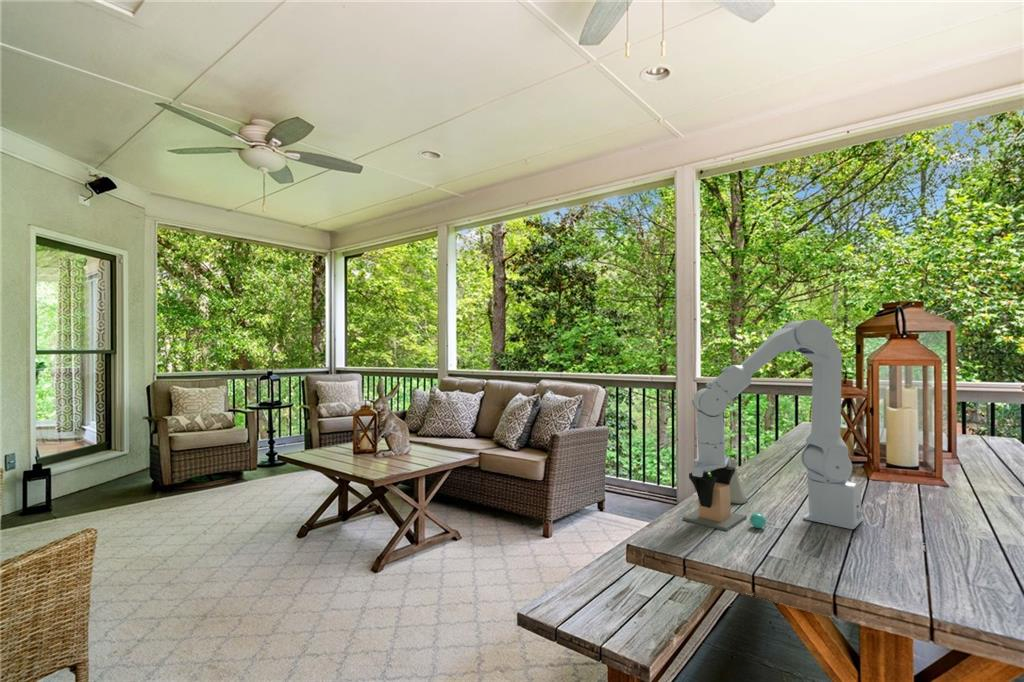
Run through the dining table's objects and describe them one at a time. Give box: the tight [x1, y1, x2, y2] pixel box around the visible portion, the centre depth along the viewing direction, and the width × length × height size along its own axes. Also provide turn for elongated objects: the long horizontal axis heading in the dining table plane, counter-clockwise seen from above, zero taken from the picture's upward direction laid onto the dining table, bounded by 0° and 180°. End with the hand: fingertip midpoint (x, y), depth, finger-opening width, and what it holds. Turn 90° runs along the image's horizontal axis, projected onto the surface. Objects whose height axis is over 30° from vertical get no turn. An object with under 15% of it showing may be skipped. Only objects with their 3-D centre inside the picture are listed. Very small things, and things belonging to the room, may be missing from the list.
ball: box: [749, 512, 767, 529], centre depth 103 cm, size 3×3×3 cm
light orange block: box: [697, 482, 732, 522], centre depth 109 cm, size 5×5×7 cm
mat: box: [682, 508, 748, 532], centre depth 109 cm, size 10×10×1 cm
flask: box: [728, 458, 749, 504], centre depth 122 cm, size 7×7×10 cm
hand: (713, 502), depth 109 cm, fingers open, 7 cm apart
